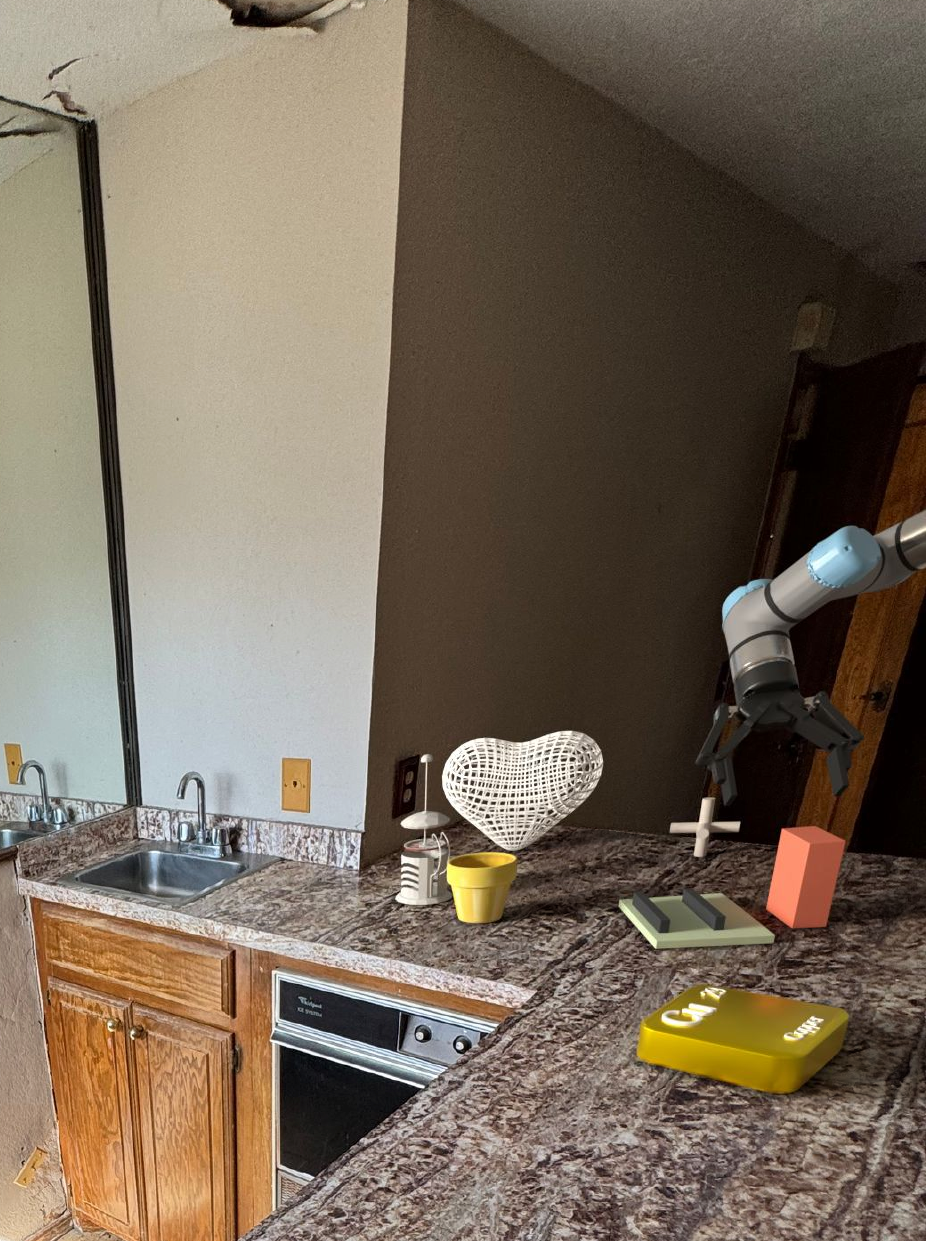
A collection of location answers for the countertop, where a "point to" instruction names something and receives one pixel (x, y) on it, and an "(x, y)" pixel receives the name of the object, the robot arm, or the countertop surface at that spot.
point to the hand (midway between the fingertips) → (785, 796)
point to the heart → (530, 745)
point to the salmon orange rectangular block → (805, 876)
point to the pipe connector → (704, 827)
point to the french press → (425, 859)
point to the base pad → (693, 921)
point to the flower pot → (481, 884)
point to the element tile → (743, 1037)
